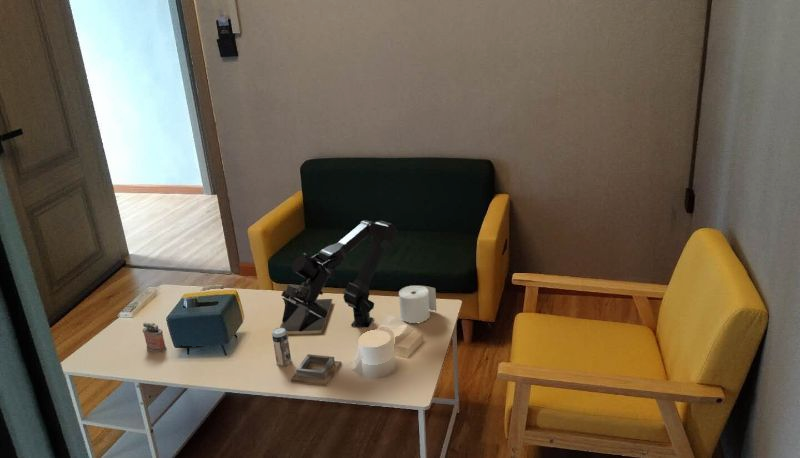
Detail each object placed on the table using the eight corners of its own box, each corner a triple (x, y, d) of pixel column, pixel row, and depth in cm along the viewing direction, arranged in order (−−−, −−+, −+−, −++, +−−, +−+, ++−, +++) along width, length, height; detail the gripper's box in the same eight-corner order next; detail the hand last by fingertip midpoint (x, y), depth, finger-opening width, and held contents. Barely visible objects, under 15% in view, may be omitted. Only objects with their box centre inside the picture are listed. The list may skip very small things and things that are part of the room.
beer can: (288, 367, 199) (283, 334, 195) (274, 366, 200) (269, 334, 196) (293, 359, 204) (288, 327, 199) (280, 358, 205) (274, 326, 200)
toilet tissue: (394, 318, 224) (392, 294, 221) (415, 305, 232) (413, 281, 229) (417, 327, 217) (415, 301, 214) (438, 313, 226) (436, 288, 222)
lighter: (169, 348, 215) (163, 323, 212) (161, 353, 213) (155, 327, 209) (151, 344, 219) (145, 319, 215) (144, 349, 216) (138, 324, 212)
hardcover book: (333, 304, 239) (332, 298, 239) (322, 335, 218) (322, 329, 217) (292, 305, 241) (291, 300, 240) (278, 336, 219) (277, 330, 218)
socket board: (306, 360, 202) (305, 351, 201) (341, 364, 199) (340, 354, 197) (290, 381, 191) (289, 372, 190) (326, 386, 188) (325, 376, 187)
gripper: (282, 267, 205) (258, 308, 202) (316, 282, 192) (291, 327, 189) (304, 280, 213) (281, 321, 209) (338, 296, 200) (314, 339, 197)
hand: (291, 326), depth 201 cm, fingers open, 9 cm apart
